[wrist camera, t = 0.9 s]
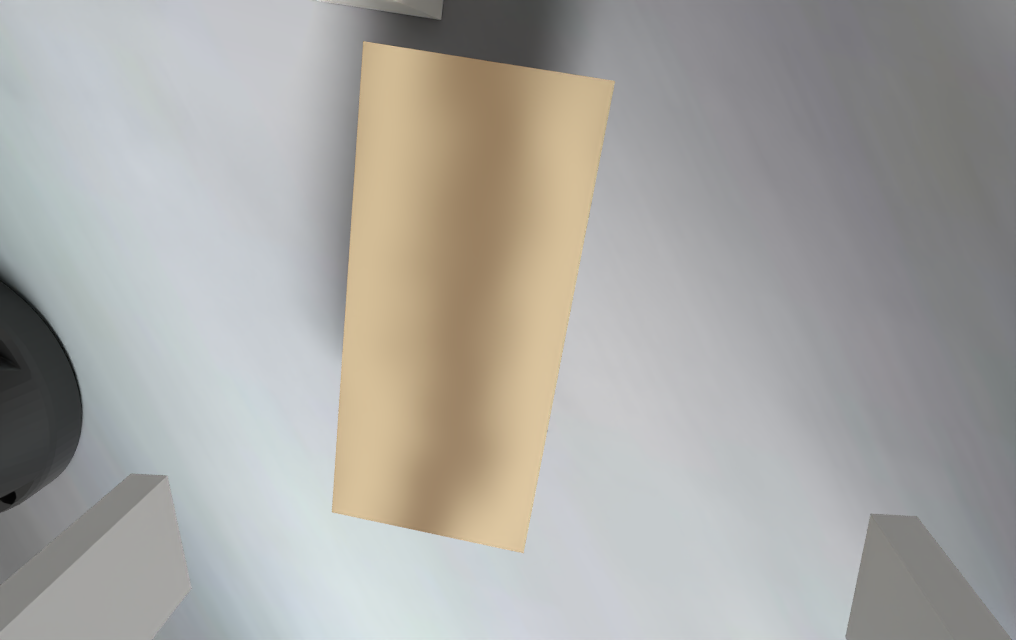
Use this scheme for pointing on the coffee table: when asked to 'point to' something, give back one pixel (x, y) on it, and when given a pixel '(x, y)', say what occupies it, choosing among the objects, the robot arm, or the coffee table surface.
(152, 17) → the coffee table surface
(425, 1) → the shelf bay
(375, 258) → the board
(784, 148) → the coffee table surface
